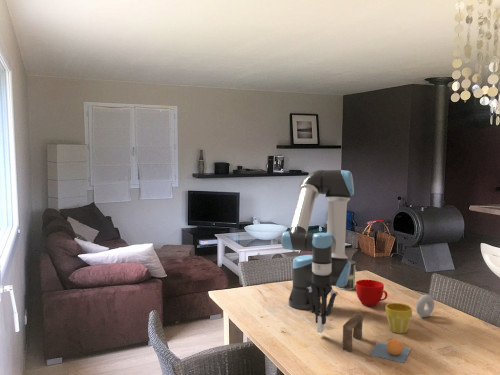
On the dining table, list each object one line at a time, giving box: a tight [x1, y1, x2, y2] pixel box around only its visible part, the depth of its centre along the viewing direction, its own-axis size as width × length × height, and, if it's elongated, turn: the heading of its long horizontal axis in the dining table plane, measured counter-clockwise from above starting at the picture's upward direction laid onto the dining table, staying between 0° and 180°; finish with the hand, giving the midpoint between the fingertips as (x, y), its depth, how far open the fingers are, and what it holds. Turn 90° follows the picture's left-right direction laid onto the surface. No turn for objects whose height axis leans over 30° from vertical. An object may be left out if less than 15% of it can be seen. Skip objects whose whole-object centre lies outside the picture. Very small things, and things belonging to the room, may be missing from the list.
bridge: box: [342, 313, 364, 352], centre depth 166 cm, size 3×14×9 cm, turn 149°
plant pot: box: [385, 302, 413, 334], centre depth 179 cm, size 10×10×10 cm
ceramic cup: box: [355, 279, 388, 307], centre depth 208 cm, size 13×17×10 cm
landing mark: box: [369, 341, 412, 364], centre depth 159 cm, size 12×12×1 cm
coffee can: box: [335, 259, 357, 291], centre depth 235 cm, size 10×10×14 cm
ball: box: [386, 338, 404, 355], centre depth 157 cm, size 6×6×6 cm
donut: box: [415, 294, 435, 318], centre depth 193 cm, size 10×4×10 cm, turn 120°
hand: (320, 331), depth 173 cm, fingers closed
